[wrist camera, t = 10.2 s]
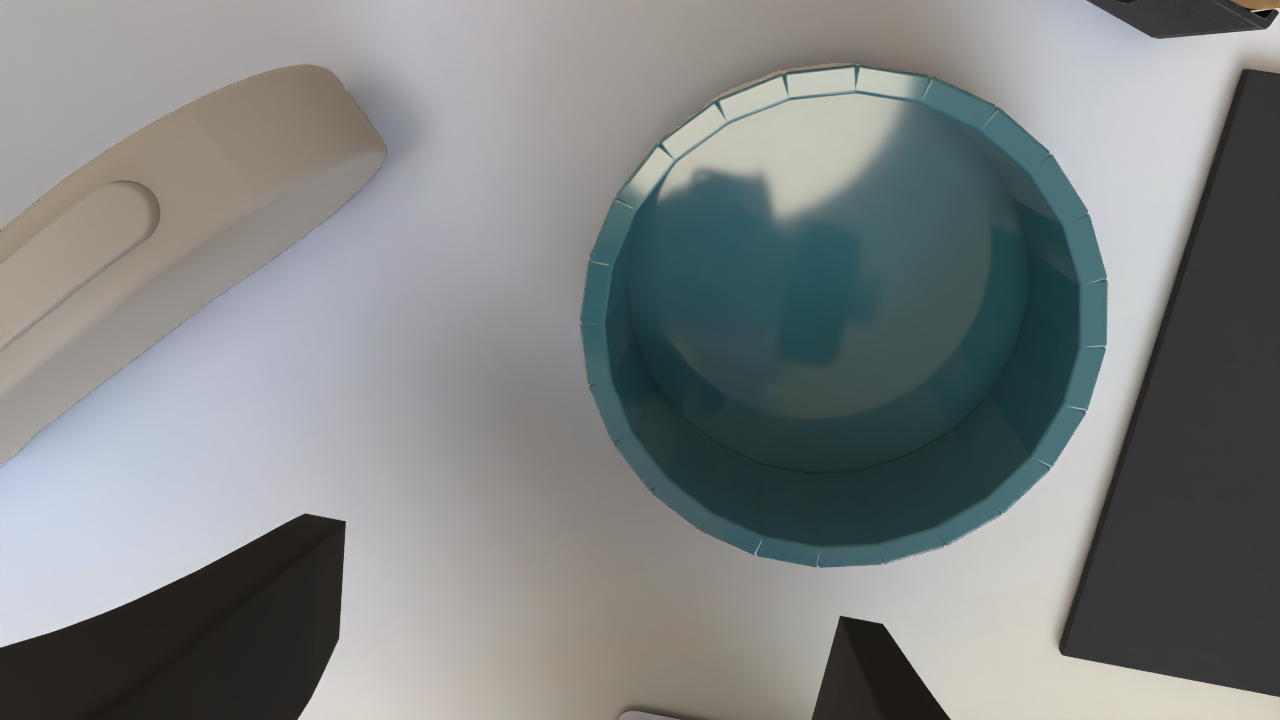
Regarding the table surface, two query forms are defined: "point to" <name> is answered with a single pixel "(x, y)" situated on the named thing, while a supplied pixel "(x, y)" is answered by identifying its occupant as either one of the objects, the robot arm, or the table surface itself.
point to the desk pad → (1204, 445)
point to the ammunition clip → (1191, 15)
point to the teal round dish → (844, 315)
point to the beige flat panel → (167, 231)
